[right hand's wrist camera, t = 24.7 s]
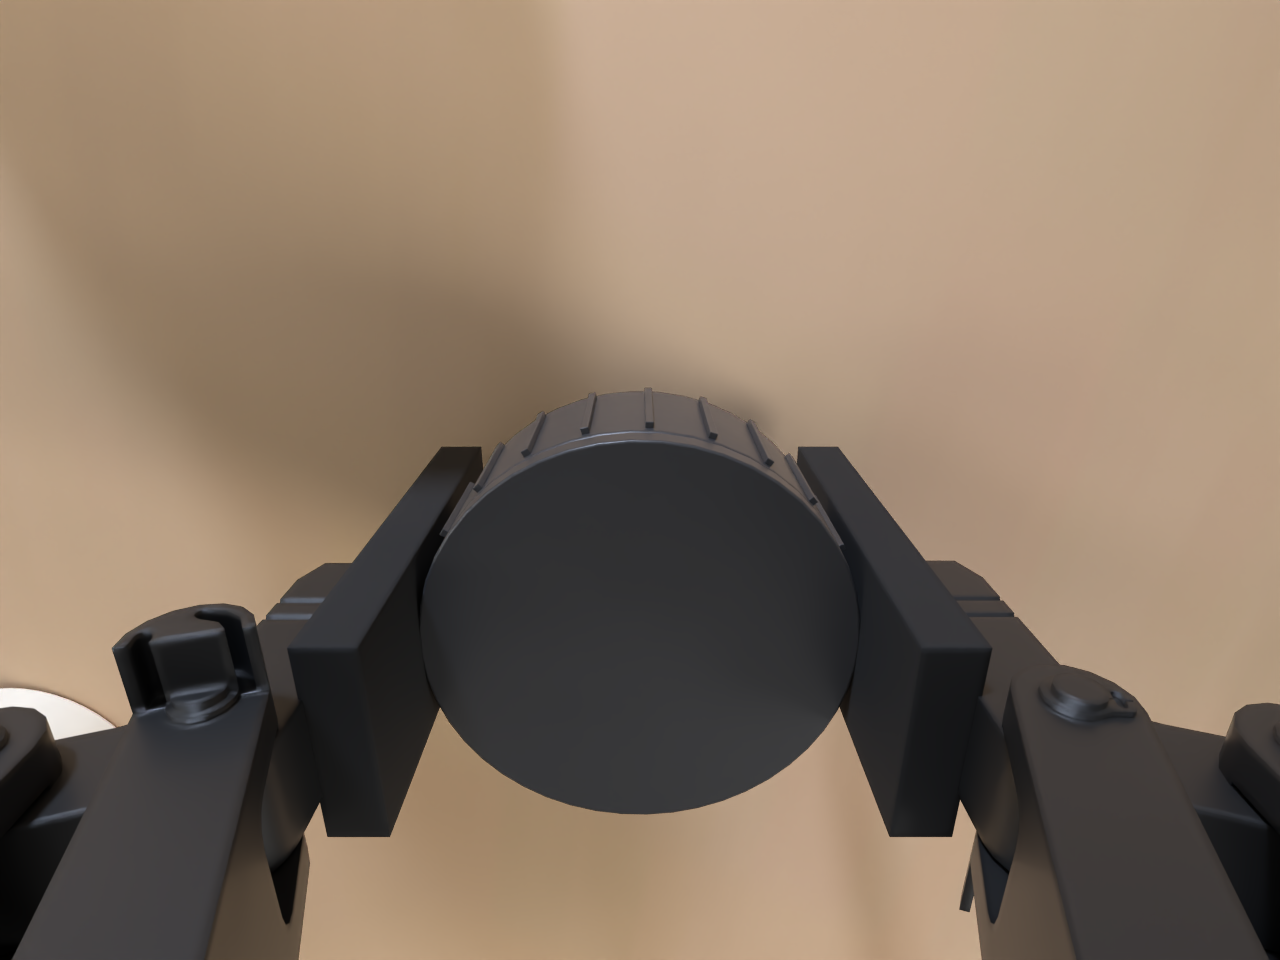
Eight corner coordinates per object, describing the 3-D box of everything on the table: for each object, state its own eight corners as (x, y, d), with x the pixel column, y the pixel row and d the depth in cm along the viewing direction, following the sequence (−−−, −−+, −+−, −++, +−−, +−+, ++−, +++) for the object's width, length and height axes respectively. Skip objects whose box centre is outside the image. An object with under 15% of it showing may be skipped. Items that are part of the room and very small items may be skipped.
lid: (530, 748, 14) (509, 856, 11) (392, 450, 11) (333, 513, 9) (855, 667, 13) (901, 765, 11) (776, 333, 11) (812, 371, 9)
